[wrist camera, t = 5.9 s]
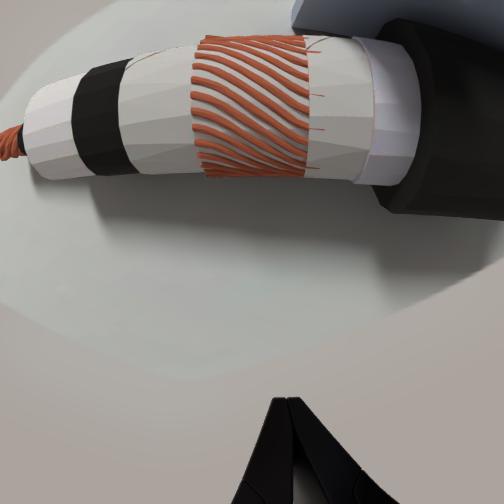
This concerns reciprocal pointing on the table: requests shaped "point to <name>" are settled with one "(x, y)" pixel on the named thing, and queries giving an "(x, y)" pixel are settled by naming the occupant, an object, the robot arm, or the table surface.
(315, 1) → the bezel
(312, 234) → the table surface
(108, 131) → the cable
